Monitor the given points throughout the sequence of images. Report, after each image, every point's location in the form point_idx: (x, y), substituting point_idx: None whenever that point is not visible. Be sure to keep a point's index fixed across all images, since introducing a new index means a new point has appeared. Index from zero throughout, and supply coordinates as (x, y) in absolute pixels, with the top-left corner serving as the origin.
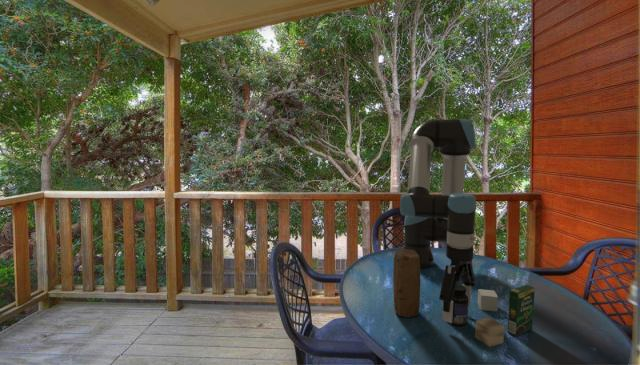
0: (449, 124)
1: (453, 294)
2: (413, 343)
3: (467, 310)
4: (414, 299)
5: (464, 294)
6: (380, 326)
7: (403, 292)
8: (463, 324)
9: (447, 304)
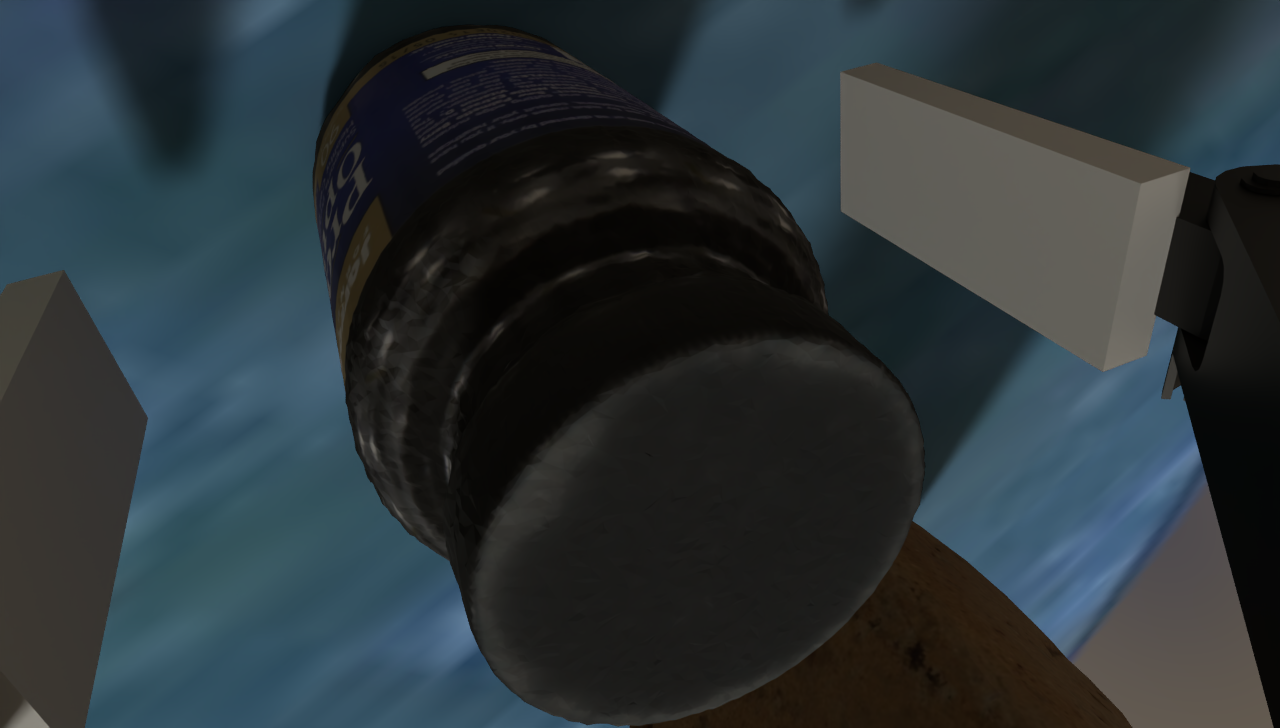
0: None
1: (1256, 260)
2: (1204, 129)
3: (467, 84)
4: (986, 612)
5: (632, 284)
6: (1104, 462)
7: (1127, 721)
8: (527, 33)
9: (1194, 191)
